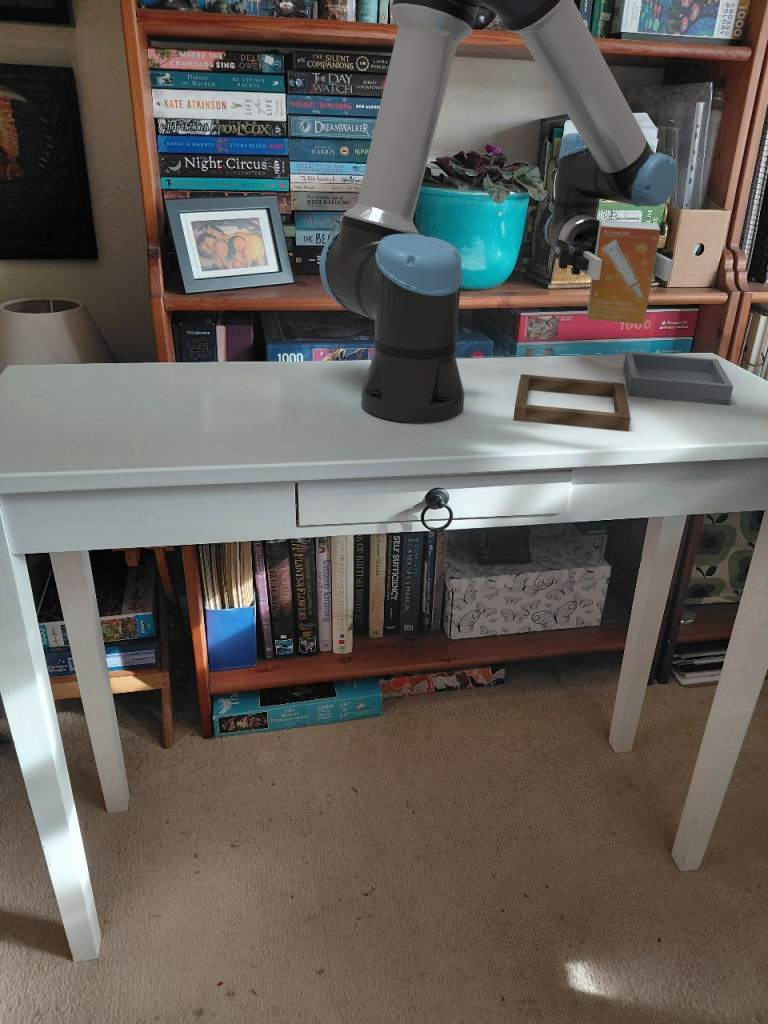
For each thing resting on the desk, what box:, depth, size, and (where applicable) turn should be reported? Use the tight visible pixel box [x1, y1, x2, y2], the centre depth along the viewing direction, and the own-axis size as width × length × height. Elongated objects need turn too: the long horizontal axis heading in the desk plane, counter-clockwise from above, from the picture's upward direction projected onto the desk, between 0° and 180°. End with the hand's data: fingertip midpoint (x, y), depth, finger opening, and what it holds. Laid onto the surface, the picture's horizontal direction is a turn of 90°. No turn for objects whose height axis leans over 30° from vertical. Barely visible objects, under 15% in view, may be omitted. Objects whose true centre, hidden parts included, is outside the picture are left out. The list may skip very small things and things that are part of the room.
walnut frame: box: [512, 373, 631, 432], centre depth 123 cm, size 16×16×2 cm
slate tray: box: [622, 351, 734, 406], centre depth 133 cm, size 15×15×3 cm
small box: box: [586, 219, 661, 325], centre depth 117 cm, size 8×6×13 cm
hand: (633, 270), depth 112 cm, fingers closed on small box, 9 cm apart
